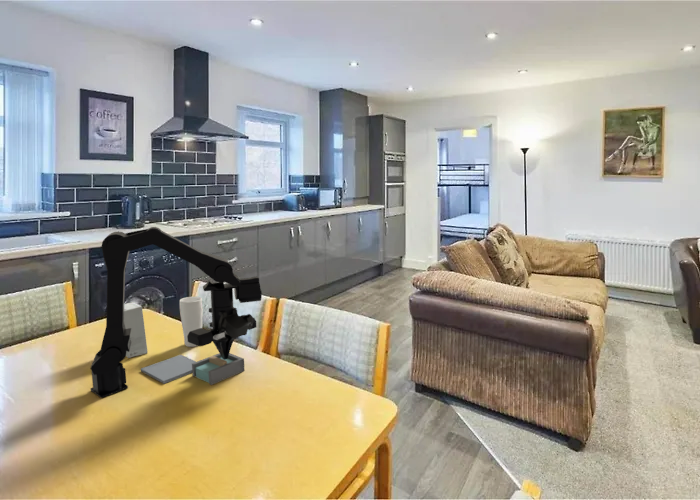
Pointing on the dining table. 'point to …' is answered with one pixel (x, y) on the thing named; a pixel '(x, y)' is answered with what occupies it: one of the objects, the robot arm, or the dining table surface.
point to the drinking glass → (191, 316)
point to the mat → (169, 369)
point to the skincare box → (135, 329)
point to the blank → (210, 367)
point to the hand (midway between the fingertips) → (225, 359)
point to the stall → (221, 368)
